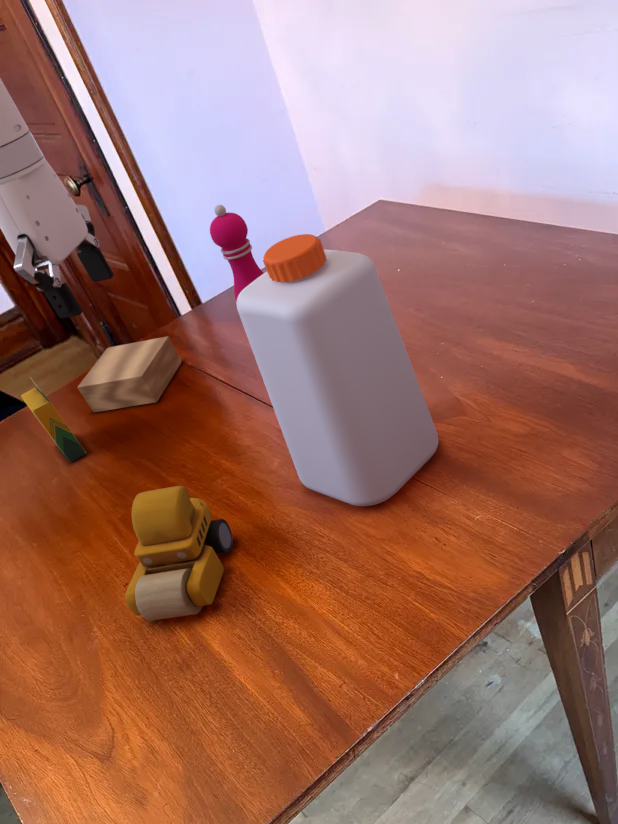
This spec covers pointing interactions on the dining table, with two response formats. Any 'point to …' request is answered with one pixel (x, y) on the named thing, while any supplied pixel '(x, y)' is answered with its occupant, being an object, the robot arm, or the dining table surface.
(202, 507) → the toy roller
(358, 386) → the plastic bottle
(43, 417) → the crayon box
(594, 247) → the dining table surface
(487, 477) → the dining table surface
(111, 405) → the maple block
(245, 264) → the pepper mill
